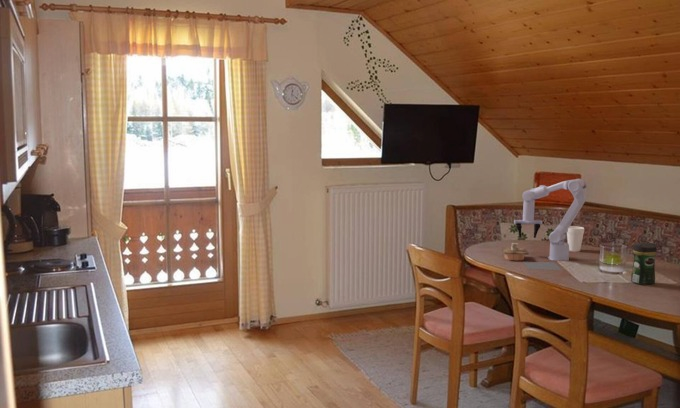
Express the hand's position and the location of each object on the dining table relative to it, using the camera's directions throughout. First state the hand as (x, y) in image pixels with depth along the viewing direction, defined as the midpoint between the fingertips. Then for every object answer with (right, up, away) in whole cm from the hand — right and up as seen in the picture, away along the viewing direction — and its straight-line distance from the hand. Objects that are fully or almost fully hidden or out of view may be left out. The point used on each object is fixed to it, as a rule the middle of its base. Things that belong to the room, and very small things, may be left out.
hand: (527, 237), depth 340 cm
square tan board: (-9, -7, -8) cm, 14 cm away
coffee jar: (+37, -18, -53) cm, 67 cm away
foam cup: (+31, -8, +15) cm, 35 cm away
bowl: (-9, -11, -8) cm, 16 cm away
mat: (0, -13, -24) cm, 27 cm away
